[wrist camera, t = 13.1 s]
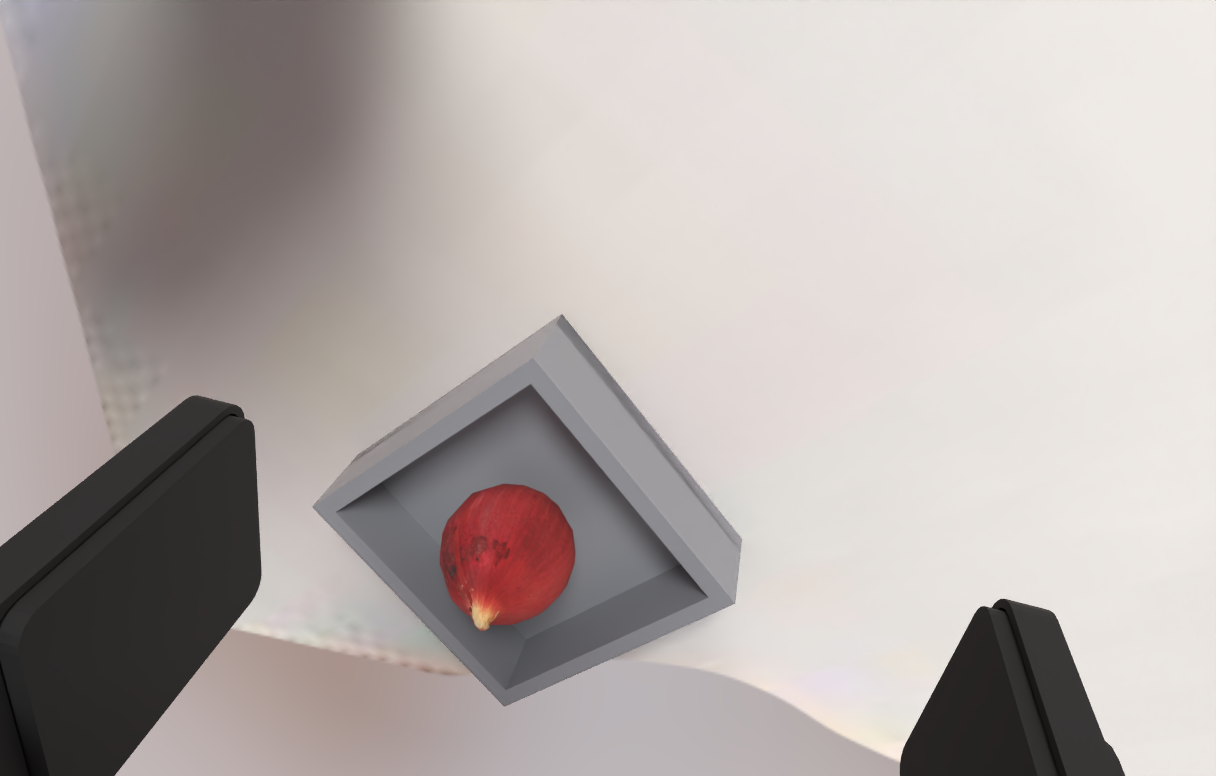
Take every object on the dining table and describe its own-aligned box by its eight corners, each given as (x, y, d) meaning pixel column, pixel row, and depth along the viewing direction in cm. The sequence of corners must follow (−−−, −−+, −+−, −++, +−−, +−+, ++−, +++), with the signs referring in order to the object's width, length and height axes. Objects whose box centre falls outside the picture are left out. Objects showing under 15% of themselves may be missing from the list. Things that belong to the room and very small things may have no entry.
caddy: (357, 455, 42) (312, 506, 38) (561, 314, 37) (533, 358, 33) (529, 641, 46) (504, 706, 42) (741, 539, 40) (734, 603, 36)
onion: (450, 503, 41) (379, 616, 34) (515, 428, 39) (451, 534, 32) (546, 573, 42) (495, 697, 35) (615, 504, 39) (575, 624, 32)
